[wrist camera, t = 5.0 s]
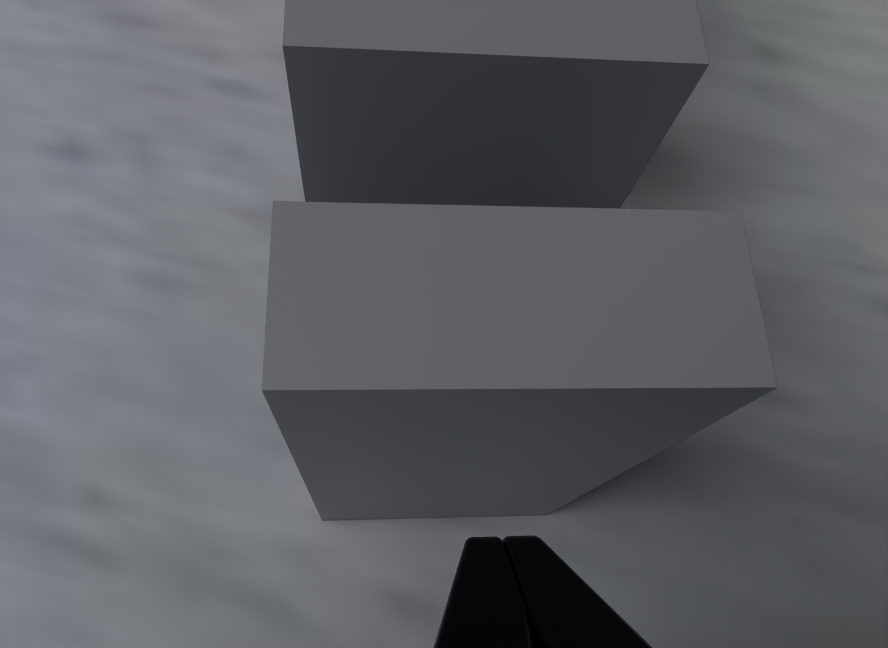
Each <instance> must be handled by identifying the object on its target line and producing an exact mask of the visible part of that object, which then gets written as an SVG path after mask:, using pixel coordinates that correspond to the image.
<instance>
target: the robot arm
mask: <svg viewBox="0 0 888 648" xmlns="http://www.w3.org/2000/svg"><path fill="white" fill-rule="evenodd" d="M434 648H652V647H651V646H650V645H649V644H648V643H647V642H646V641H645V640H644V639H643V638H642V637H641V636H640V635H639V634H638V633H637V632H636V631H635V630H634V629H633V628H632V627H631V626H629V625H628V624H627V623H626V622H625V621H624V620H623V619H622V618H621V617H620V616H619V615H618V614H617V613H616V612H615V611H614V610H613V609H612V608H611V607H610V606H609V605H608V604H607V603H606V602H605V601H604V600H603V599H602V598H601V597H600V596H599V595H598V594H597V593H596V592H595V591H594V590H593V589H592V588H591V587H590V586H589V585H587V584H586V583H585V582H584V581H583V580H582V579H581V578H580V577H579V576H578V575H577V574H576V573H575V572H574V571H573V570H572V569H571V568H570V567H569V566H568V565H567V564H566V563H565V562H564V561H563V560H562V559H561V558H560V557H559V556H558V555H557V554H556V553H555V552H554V551H553V550H552V549H551V548H550V547H549V546H548V545H547V544H545V543H544V542H543V541H542V540H541V539H540V538H538V537H537V536H508V537H505V538H504V539H503V541H502V540H501V539H500V538H498V537H471V538H469V539H467V540H466V542H465V545H464V548H463V552H462V555H461V558H460V562H459V565H458V568H457V572H456V575H455V578H454V582H453V585H452V588H451V592H450V595H449V598H448V601H447V605H446V608H445V611H444V615H443V618H442V621H441V625H440V628H439V631H438V635H437V638H436V641H435V645H434Z"/></svg>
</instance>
